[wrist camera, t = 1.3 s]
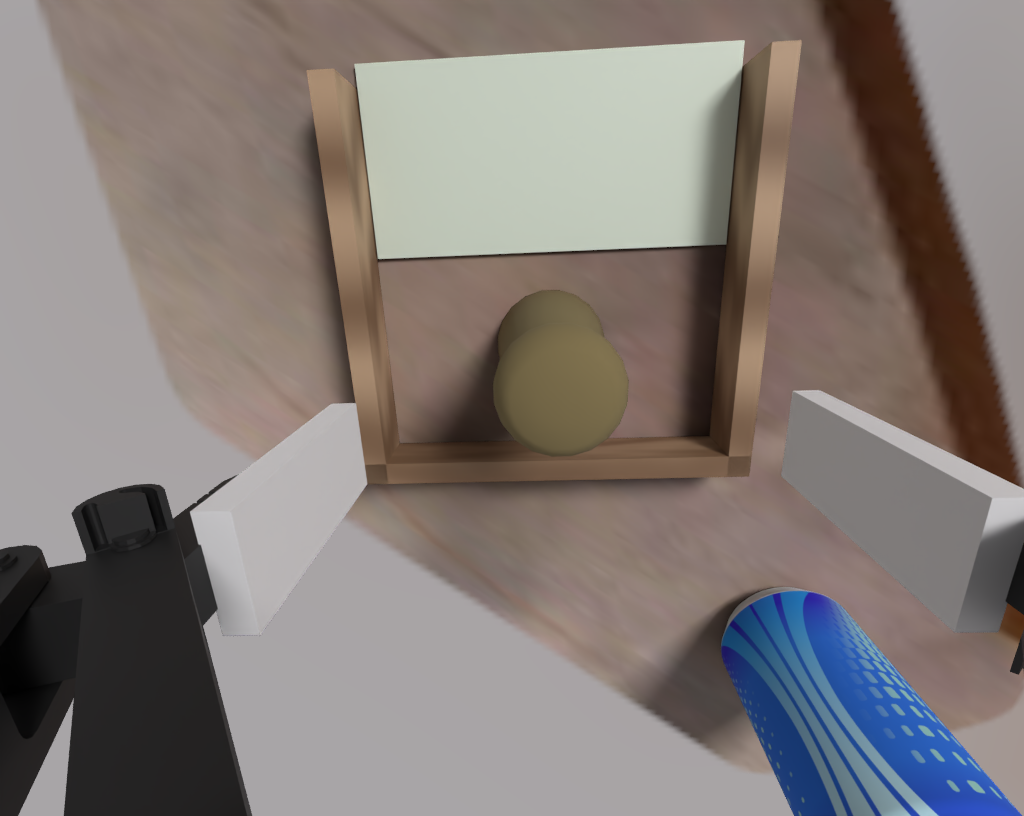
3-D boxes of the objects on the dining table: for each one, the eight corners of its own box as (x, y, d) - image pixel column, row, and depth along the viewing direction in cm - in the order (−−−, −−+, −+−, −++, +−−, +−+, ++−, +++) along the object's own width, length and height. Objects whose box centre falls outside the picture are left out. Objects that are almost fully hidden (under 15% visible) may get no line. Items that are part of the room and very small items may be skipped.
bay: (332, 90, 24) (306, 70, 21) (768, 65, 23) (801, 40, 20) (382, 462, 31) (367, 484, 28) (728, 454, 30) (749, 476, 27)
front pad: (355, 65, 24) (354, 63, 24) (742, 42, 23) (744, 40, 23) (379, 258, 27) (378, 259, 27) (724, 244, 26) (726, 244, 26)
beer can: (866, 632, 33) (1147, 957, 18) (761, 695, 35) (935, 1035, 20) (794, 553, 32) (1039, 840, 16) (688, 625, 34) (818, 938, 18)
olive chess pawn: (491, 388, 29) (469, 469, 18) (504, 282, 27) (487, 306, 17) (593, 401, 29) (630, 490, 18) (613, 297, 27) (666, 330, 17)
